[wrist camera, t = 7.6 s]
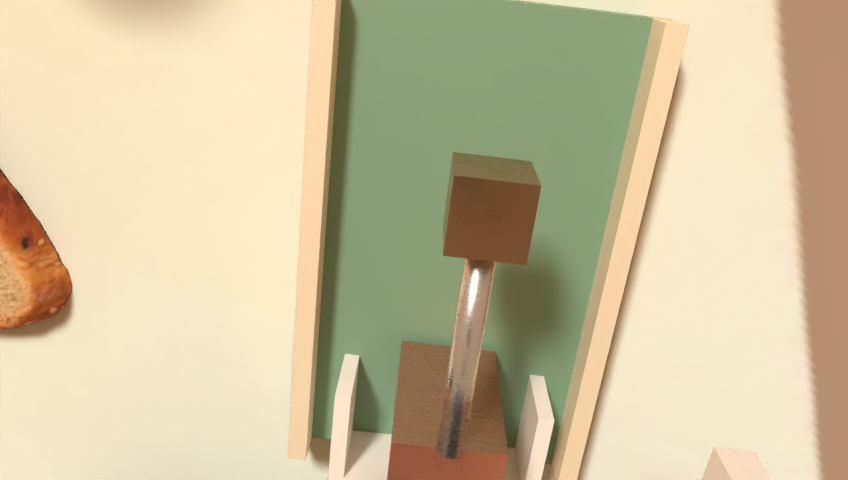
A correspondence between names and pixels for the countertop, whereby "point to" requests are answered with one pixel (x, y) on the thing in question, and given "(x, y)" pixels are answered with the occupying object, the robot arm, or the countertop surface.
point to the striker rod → (465, 331)
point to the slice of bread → (27, 265)
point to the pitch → (426, 199)
